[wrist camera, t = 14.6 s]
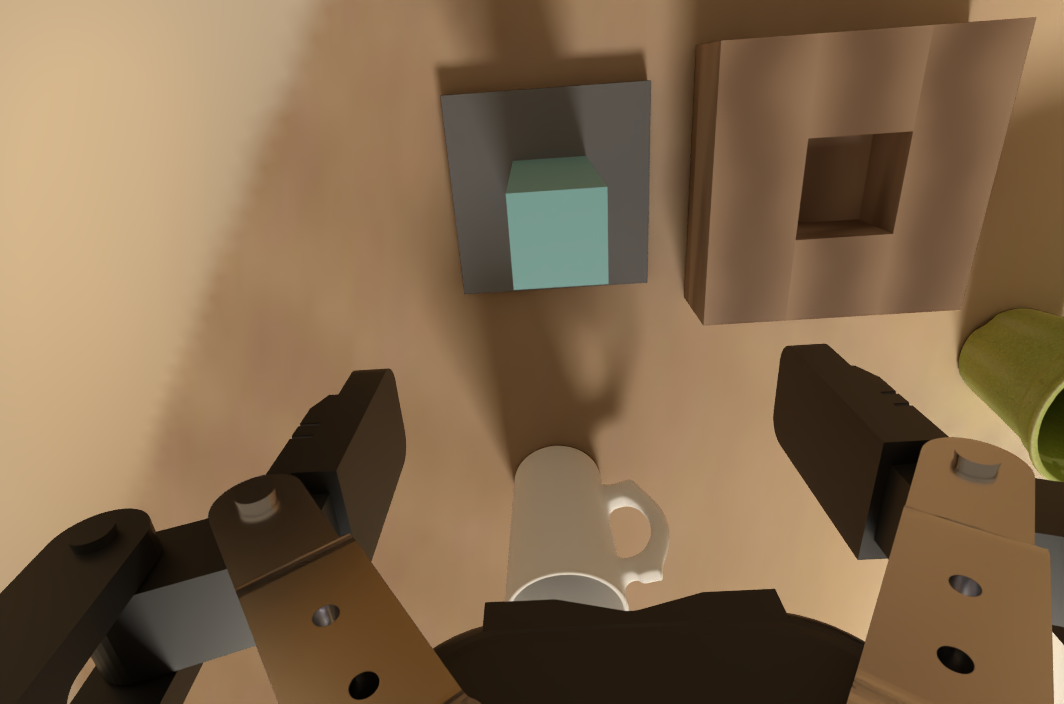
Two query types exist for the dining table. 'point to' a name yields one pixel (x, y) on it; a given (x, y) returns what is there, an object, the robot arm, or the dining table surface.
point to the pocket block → (845, 168)
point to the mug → (576, 533)
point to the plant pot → (1022, 380)
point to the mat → (540, 133)
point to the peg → (557, 223)
